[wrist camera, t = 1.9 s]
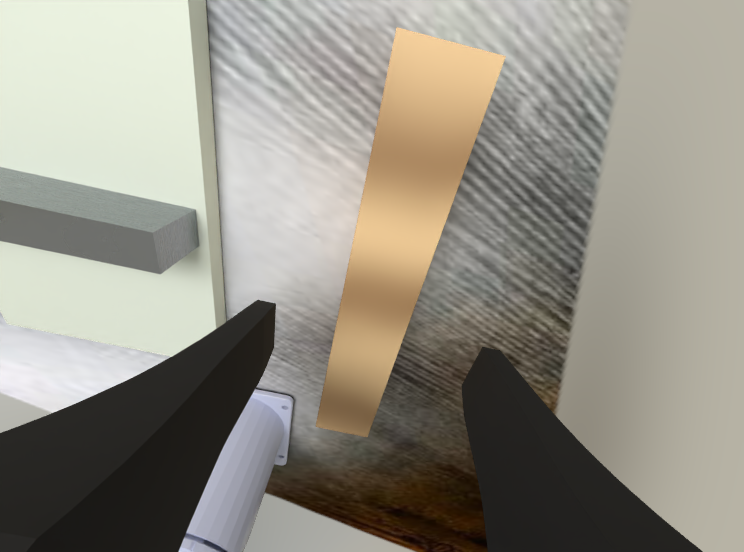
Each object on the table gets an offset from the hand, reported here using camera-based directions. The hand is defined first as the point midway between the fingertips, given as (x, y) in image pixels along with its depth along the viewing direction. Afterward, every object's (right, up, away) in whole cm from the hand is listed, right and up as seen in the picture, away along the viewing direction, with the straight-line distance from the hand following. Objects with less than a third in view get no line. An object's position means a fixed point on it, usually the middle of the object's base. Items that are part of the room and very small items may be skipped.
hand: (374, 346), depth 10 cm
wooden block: (0, +4, +6) cm, 7 cm away
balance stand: (-15, +7, +6) cm, 17 cm away
